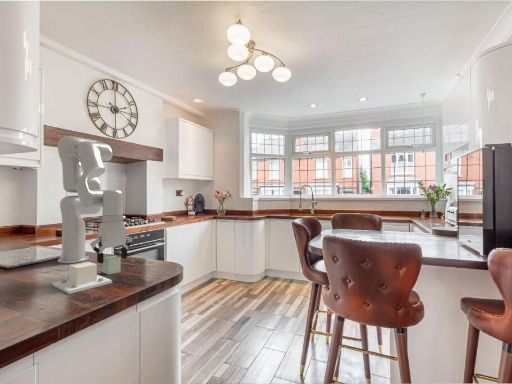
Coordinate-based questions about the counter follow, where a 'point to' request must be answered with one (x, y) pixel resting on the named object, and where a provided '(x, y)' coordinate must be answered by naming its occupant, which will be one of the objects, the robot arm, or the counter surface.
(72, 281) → the cream block
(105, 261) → the sage block
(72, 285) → the plate
